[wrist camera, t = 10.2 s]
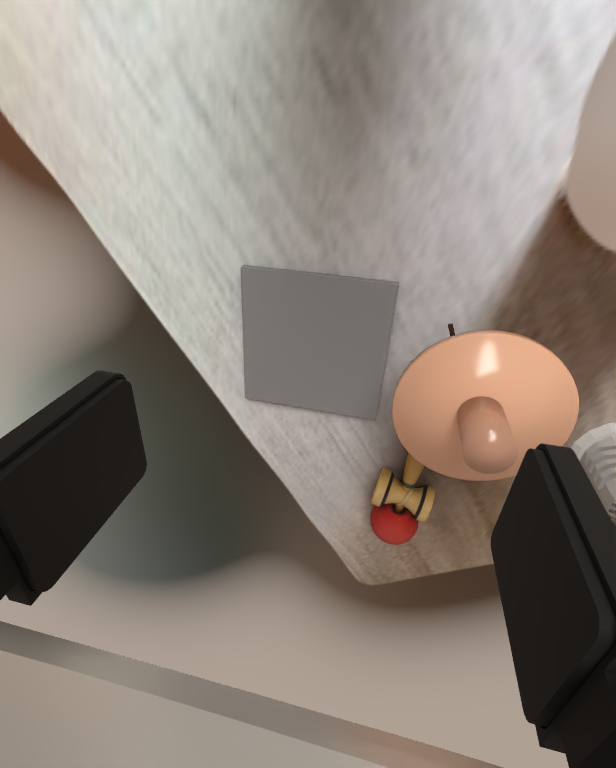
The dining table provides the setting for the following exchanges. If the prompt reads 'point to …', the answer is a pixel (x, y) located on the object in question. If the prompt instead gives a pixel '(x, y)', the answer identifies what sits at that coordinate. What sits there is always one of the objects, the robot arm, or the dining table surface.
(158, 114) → the dining table surface
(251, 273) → the mat
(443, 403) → the lid
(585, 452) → the french press
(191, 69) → the dining table surface
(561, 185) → the dining table surface
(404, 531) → the kendama
